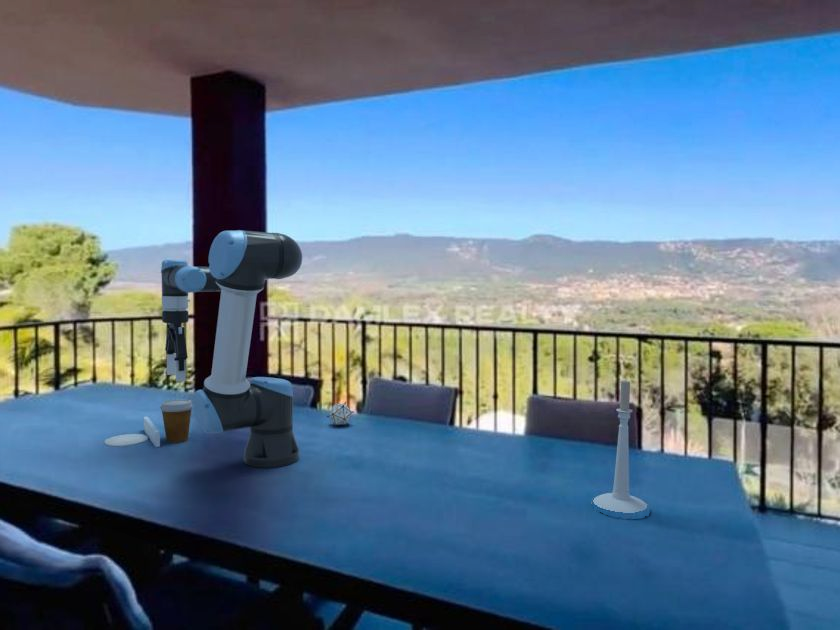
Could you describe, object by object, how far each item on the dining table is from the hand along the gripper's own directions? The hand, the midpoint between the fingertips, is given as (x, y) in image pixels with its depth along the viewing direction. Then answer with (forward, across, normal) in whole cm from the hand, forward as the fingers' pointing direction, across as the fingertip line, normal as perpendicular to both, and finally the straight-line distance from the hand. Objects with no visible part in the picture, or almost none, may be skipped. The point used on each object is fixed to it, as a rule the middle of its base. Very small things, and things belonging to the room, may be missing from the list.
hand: (176, 377), depth 184 cm
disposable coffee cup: (+20, 0, 0) cm, 20 cm away
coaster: (+20, +7, +14) cm, 25 cm away
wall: (+20, +6, +6) cm, 21 cm away
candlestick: (+19, -109, -75) cm, 134 cm away
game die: (+20, -10, -52) cm, 56 cm away
